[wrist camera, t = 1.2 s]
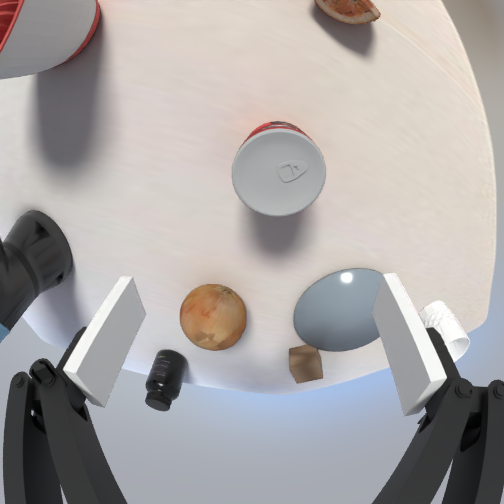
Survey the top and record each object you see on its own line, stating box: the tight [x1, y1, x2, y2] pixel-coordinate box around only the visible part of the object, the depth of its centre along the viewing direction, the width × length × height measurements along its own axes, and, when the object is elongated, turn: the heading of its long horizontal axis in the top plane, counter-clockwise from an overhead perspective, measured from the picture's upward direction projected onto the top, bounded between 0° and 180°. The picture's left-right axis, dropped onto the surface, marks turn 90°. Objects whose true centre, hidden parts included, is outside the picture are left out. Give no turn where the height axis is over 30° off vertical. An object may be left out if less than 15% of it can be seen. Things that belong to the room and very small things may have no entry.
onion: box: [180, 284, 246, 351], centre depth 39 cm, size 10×10×10 cm
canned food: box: [232, 121, 326, 217], centre depth 27 cm, size 8×8×11 cm
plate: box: [294, 268, 382, 351], centre depth 43 cm, size 18×18×1 cm
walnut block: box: [289, 344, 323, 384], centre depth 47 cm, size 5×5×5 cm
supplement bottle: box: [145, 350, 187, 411], centre depth 48 cm, size 7×7×12 cm
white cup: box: [419, 301, 470, 362], centre depth 38 cm, size 8×8×10 cm
